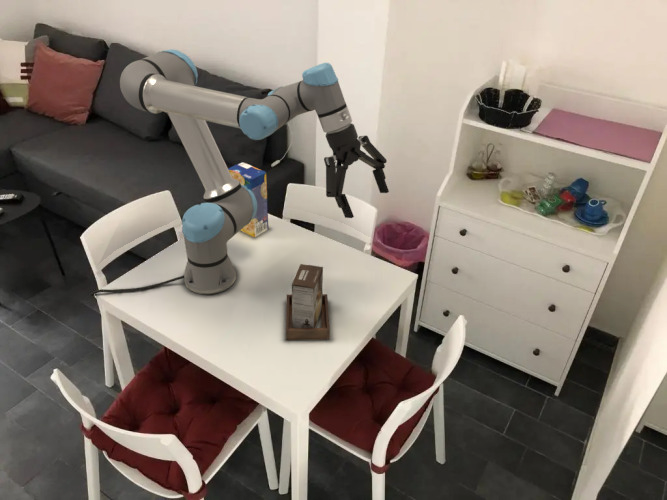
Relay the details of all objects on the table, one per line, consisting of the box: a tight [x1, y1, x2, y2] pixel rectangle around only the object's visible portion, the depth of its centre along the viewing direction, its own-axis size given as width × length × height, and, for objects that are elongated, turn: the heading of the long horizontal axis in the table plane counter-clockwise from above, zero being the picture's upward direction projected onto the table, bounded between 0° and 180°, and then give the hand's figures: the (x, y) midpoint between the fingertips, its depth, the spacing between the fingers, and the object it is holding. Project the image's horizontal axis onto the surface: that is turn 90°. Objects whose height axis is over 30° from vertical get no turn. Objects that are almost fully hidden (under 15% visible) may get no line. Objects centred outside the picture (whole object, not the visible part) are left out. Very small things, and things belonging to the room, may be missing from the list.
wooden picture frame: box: [285, 293, 331, 341], centre depth 149 cm, size 12×15×4 cm
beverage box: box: [227, 161, 269, 238], centre depth 181 cm, size 7×11×22 cm, turn 52°
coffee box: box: [291, 263, 324, 328], centre depth 145 cm, size 9×6×16 cm
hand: (367, 204), depth 141 cm, fingers open, 13 cm apart
